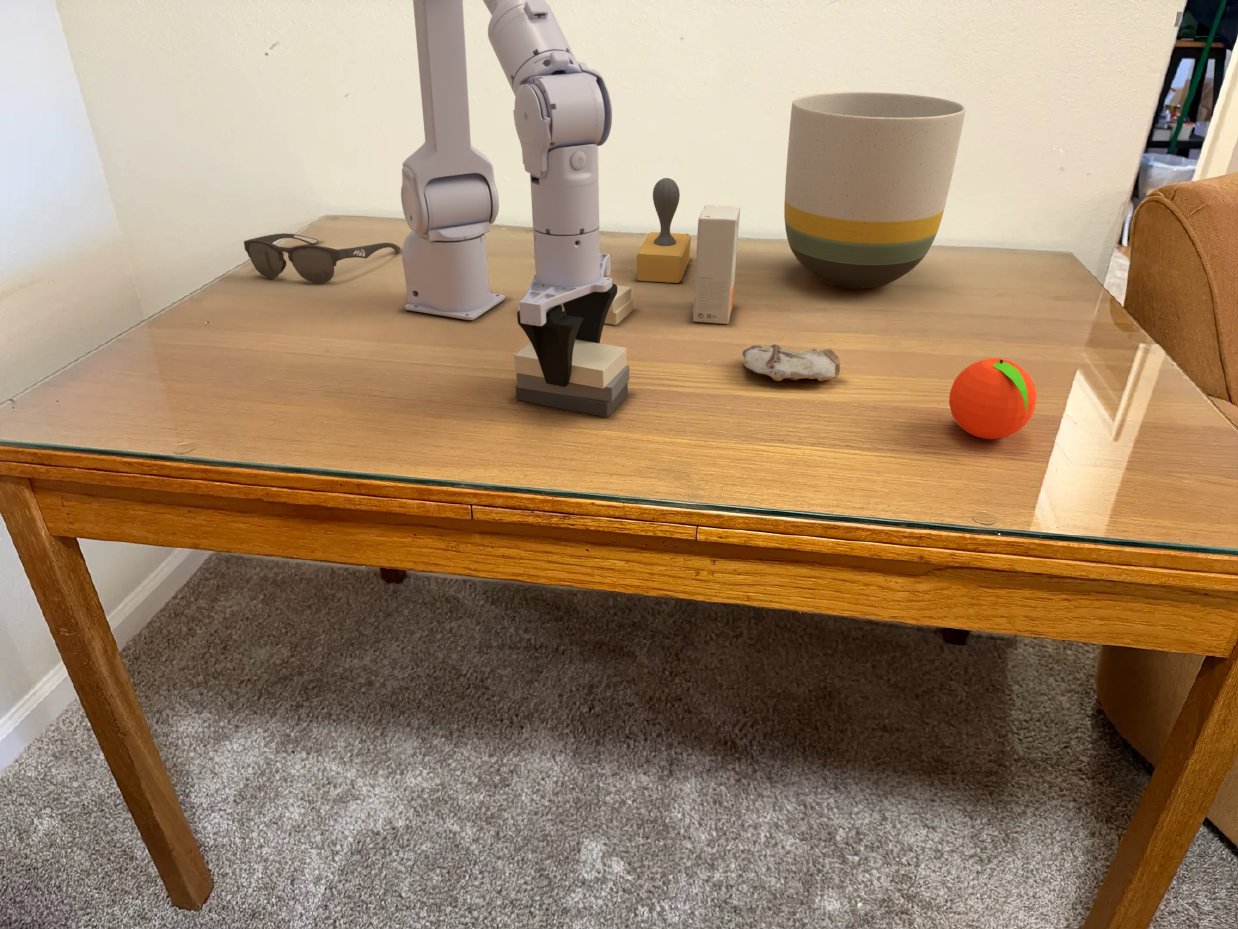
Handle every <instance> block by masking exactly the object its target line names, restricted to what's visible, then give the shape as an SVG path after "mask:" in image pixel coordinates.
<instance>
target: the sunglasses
mask: <svg viewBox="0 0 1238 929" xmlns="http://www.w3.org/2000/svg"><path fill="white" fill-rule="evenodd" d="M284 239H294V240H297V241H298V240H299V241H301V242H303V243H306V244H303V245H296V246H295V245H294V246H291V247H285V246H279V245H277V244H274V243H275V242H277V241H280V240H284ZM319 241H320V240H319V239H317V238H313V237H309V236H304V235H301V234H295V233H287V232H286V233H285V232H283V233H273V234H269V235H268V234H267V235H264V236H259V237H254V238H249V239H246V240H244V241H243V246H244V251H245V252H246V253H247V256H248V258H249V259H250V261H251V263H252V265H253V267H254V269H255V270H256V272H258V273H259V275H261V276H263V278H267V279H271V280H272V279H276V278H278V277H279V276H280V275H281V273H283V272H284V270H285V268H286V267H287V260H286V259H285V255H284V253H287V258H288V261H289V262H290V263H291V265H292V266H293V268H294V269H295V271H296V273H297V274H298V275H299V276H300V277H301V278H302V279H304V280H305V281H306V282H309V283H311V284H326V283H328V282H330V281H331V280H332V279H333V277H334V275H335V267H337V264H338V263H337V262H339V261H343V260H346V259H352V258H353V259H355V258H360V259H368V258H369V257H371V255H373V254H374V253H376V252H377V251H378V252H379V250H382V249H386V248H390V249H393V250H394V251H395V252H396V253H398V254H399V253H400V251H401V247H400V246H399V245H397V244H395V243H393V242H392V243H391V242H379V243H373V244H367V245H361V246H355V247H347V248H339V249H337V248H332V247H328V246H322V245H315V244H317V243H319Z"/></svg>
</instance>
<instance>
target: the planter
mask: <svg viewBox="0 0 1238 929" xmlns="http://www.w3.org/2000/svg"><path fill="white" fill-rule="evenodd" d="M966 111H967V110H966V106H964V105H963V104H962V103H960V102H956V101H953V100H950V99H945V98H940V97H935V96H927V95H920V94H911V93H898V92H878V91H877V92H876V91H841V92H840V91H839V92H826V93H815V94H809V95H803V96H800V97H797V98H795V99H794V100H792V103H791V110H790V122H789V133H788V144H787V155H786V166H785V168H786V170H785V183H784V184H785V185H784V186H785V187H784V204H783V206H784V209H783V210H784V211H783V213H784V228H785V233H786V238H787V243H788V245H789V248H790V250H791V253H792V254H793V256H794V257H795V259H796V260H797V261H798V263H799V264H800V265H801V266H802V267H803V268H804V269H805V270H806V271H807V272H808V273H810V274H811V275H812V276H813V277H814V278H816V279H818V280H820V281H822V282H824V283H826V284H829V285H831V286H835V287H839V288H845V289H853V290H854V289H855V290H856V289H857V290H863V289H865V290H866V289H873V288H878V287H881V286H885V285H888V284H891V283H893V282H895V281H897V280H899V279H900V278H902V277H903V276H906V275H907V274H908V273H909V272H911V271H912V270H913V269H914V268H915V267H916V266H918V265H919V264H920V263H921V262H922V261H923V259H924V258H925V257H926V255H927V254H928V252H929V251H930V249H931V247H932V245H933V243H934V241H935V239H936V236H937V234H938V232H939V229H940V225H941V222H942V219H943V216H944V212H945V207H946V203H947V200H948V195H949V192H950V186H951V182H952V179H953V174H954V170H955V164H956V159H957V155H958V150H959V146H960V141H961V136H962V130H963V127H964V126H963V125H964V120H965V116H966Z"/></svg>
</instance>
